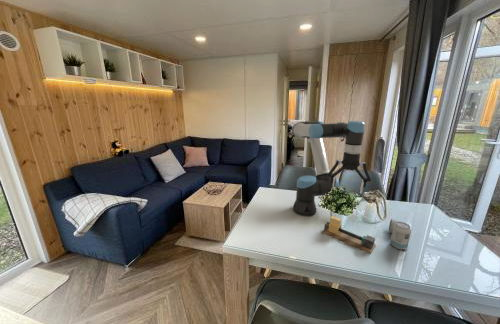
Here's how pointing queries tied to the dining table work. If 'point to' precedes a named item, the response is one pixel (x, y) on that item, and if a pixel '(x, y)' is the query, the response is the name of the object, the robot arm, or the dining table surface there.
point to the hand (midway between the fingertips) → (346, 190)
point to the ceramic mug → (392, 225)
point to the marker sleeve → (334, 225)
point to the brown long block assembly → (352, 239)
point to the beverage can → (400, 235)
